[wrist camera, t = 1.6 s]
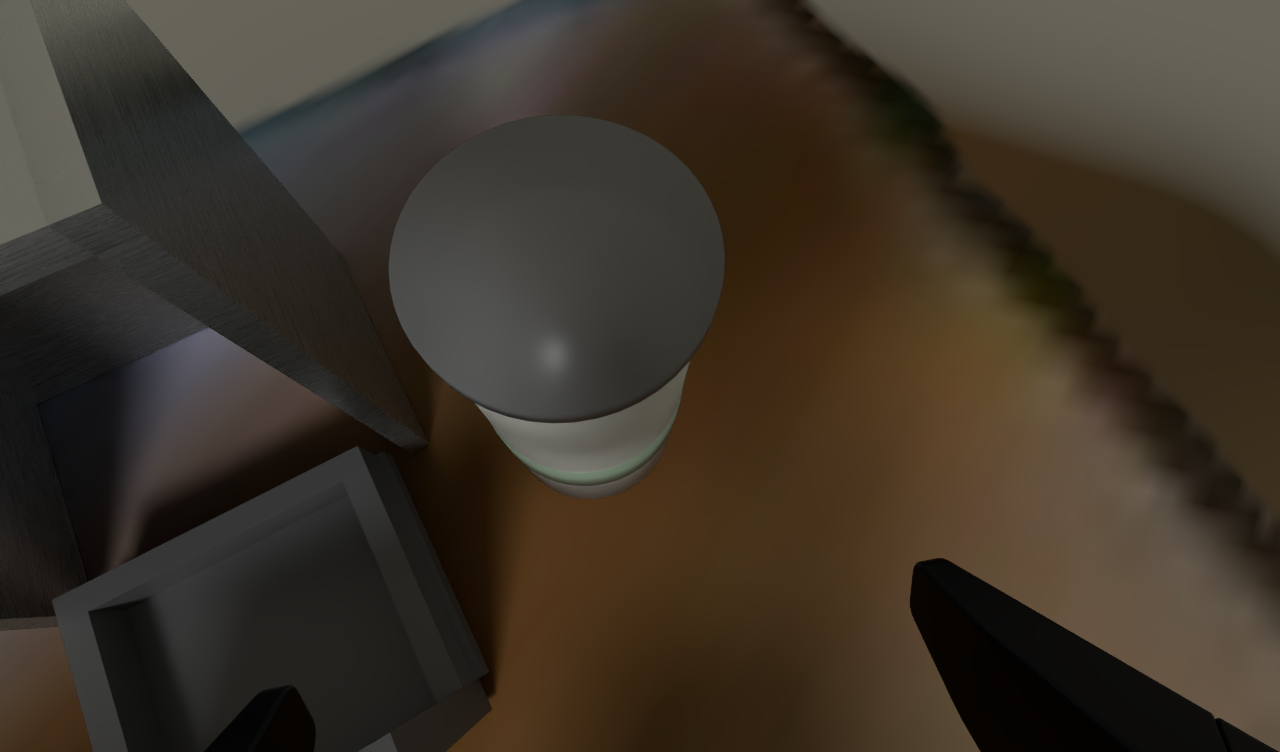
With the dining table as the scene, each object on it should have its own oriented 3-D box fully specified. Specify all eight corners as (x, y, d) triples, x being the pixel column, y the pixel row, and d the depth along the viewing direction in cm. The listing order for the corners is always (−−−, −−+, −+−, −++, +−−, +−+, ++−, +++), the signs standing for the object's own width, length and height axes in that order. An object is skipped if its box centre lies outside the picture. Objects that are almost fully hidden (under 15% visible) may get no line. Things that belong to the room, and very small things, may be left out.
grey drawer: (515, 727, 20) (446, 813, 12) (199, 919, 18) (-109, 1159, 11) (392, 456, 22) (273, 387, 15) (105, 603, 21) (-198, 613, 13)
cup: (706, 452, 23) (789, 313, 11) (554, 537, 22) (476, 480, 10) (624, 315, 25) (623, 70, 13) (479, 388, 23) (337, 194, 12)
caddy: (428, 443, 23) (101, 203, 9) (75, 625, 21) (-1138, 709, 6) (338, 250, 25) (-40, -194, 11) (11, 397, 23) (-989, 86, 9)
